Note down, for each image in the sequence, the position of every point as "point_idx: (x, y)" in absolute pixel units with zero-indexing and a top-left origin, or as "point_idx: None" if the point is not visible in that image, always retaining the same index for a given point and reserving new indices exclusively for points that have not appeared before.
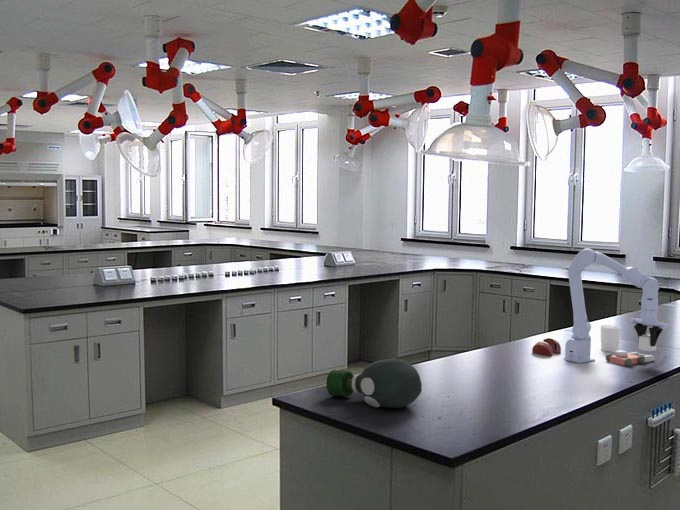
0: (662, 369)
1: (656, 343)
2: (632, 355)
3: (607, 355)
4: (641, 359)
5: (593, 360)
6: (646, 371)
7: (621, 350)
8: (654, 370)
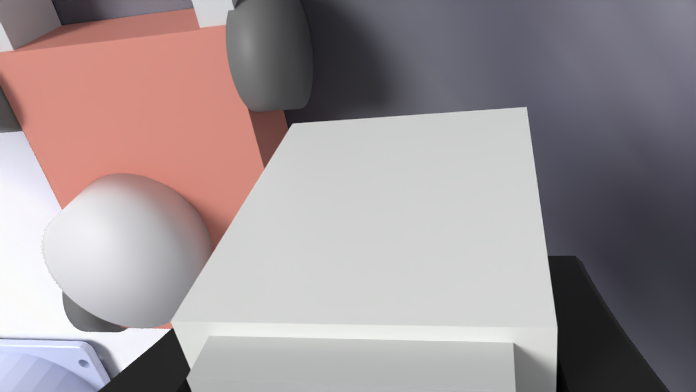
0: (674, 35)
1: (537, 190)
2: (127, 81)
3: (103, 331)
4: (297, 79)
5: (100, 362)
6: (607, 286)
7: (49, 223)
8: (636, 178)
